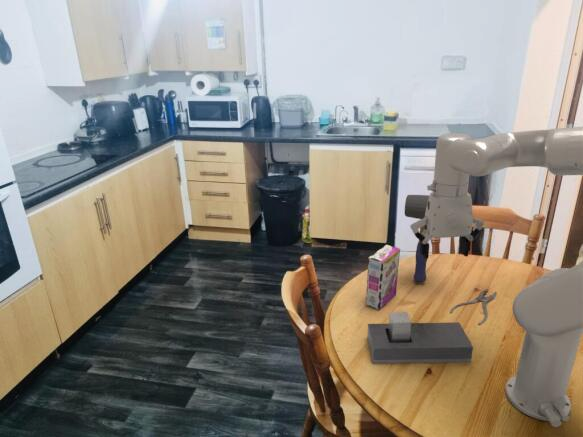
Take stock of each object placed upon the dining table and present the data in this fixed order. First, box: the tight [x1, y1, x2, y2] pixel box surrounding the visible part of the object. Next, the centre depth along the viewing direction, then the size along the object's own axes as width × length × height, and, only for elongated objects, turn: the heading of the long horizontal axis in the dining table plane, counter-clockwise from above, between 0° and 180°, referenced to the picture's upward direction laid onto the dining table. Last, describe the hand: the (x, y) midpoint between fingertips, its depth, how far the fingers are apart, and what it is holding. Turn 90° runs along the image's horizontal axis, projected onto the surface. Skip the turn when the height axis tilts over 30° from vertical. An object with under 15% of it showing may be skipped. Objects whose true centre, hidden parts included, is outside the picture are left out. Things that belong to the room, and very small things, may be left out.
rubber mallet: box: [404, 194, 430, 285], centre depth 136 cm, size 12×8×30 cm, turn 68°
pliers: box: [449, 288, 497, 326], centre depth 130 cm, size 10×1×20 cm
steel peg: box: [388, 311, 412, 343], centre depth 110 cm, size 4×4×9 cm
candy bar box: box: [365, 244, 401, 311], centre depth 130 cm, size 11×5×16 cm, turn 141°
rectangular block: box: [366, 321, 474, 364], centre depth 111 cm, size 10×24×4 cm, turn 89°
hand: (444, 255), depth 106 cm, fingers open, 9 cm apart
